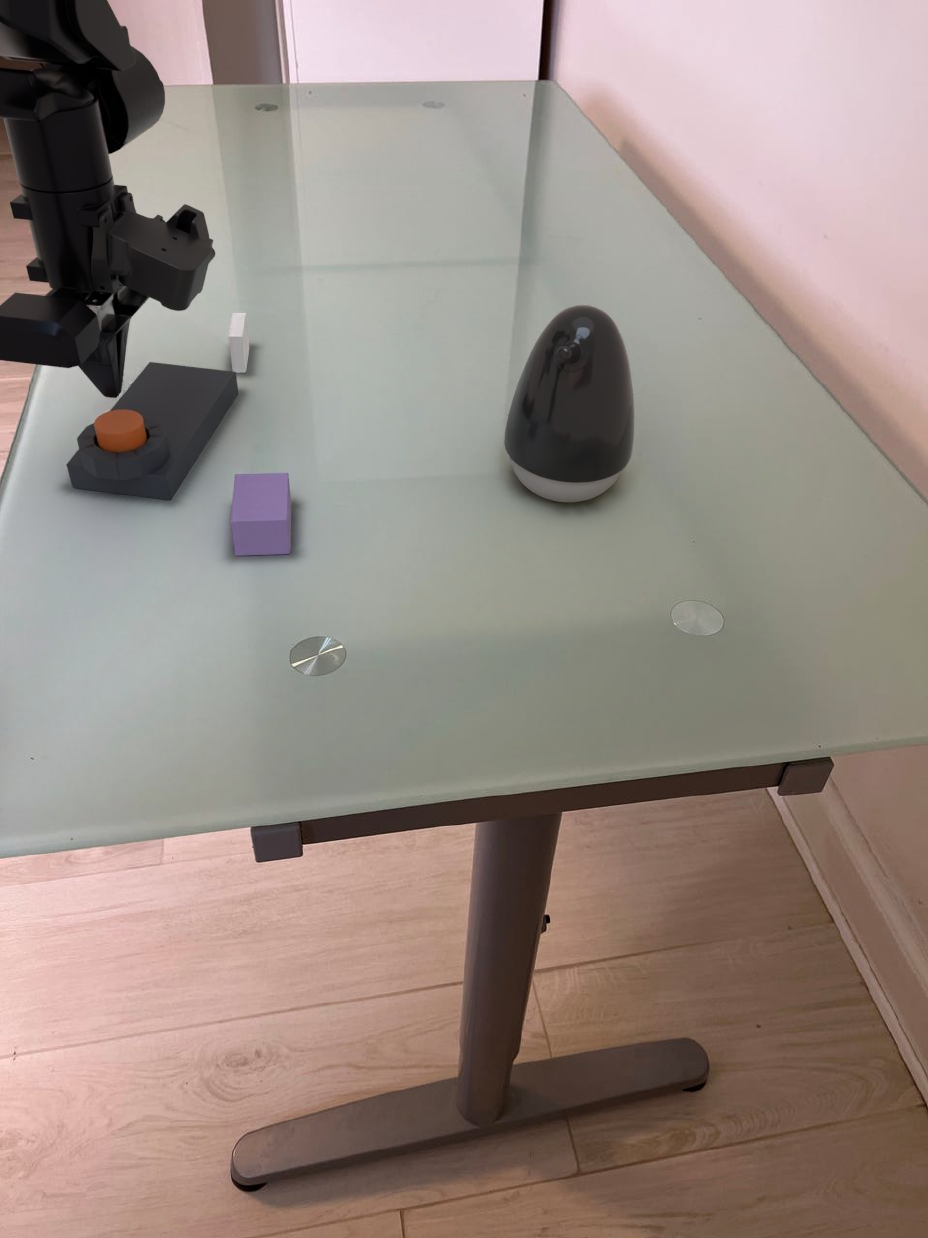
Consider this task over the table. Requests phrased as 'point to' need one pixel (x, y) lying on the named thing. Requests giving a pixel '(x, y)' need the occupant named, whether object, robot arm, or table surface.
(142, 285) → the robot arm
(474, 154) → the table surface
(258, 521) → the soap bar
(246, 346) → the eraser
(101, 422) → the orange push button
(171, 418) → the button base
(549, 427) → the dark grey egg dome
